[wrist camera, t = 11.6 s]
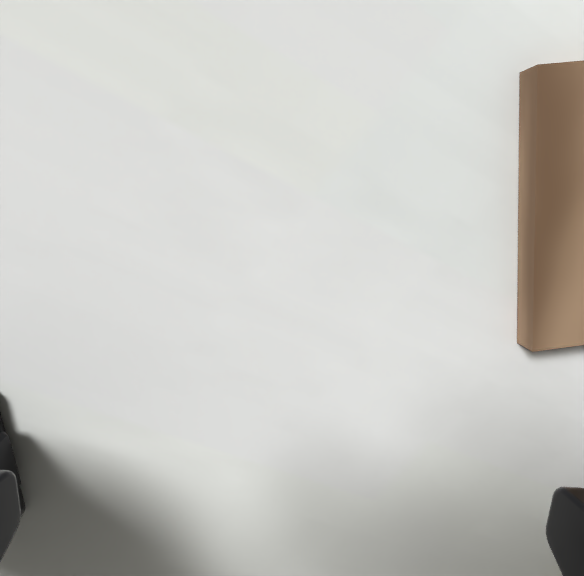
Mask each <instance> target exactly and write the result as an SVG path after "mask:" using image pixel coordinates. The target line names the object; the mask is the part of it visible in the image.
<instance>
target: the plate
mask: <svg viewBox="0 0 584 576" xmlns="http://www.w3.org/2000/svg"><path fill="white" fill-rule="evenodd" d="M517 343H518V344H520V345H522V346H523V347H525V348H527V349H529V350H530V351H532V352H534V351H542V350H550V349H557V348H565V347H572V346H580V345H584V61H574V62H563V63H551V64H540V65H536V66H534V67H531V68H529V69H527V70H525V71H522V72H520V101H519V203H518V306H517Z"/></svg>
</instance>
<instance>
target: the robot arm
mask: <svg viewBox="0 0 584 576" xmlns="http://www.w3.org/2000/svg"><path fill="white" fill-rule="evenodd" d="M20 484H21V481H20V477H19V473H18V469H17V466H16V462H15V458H14V454H13V450H12V447H11V443H10V439H9V436H8V435H7V433H6V432H5V429H4V425H3V421H2V418H1V414H0V562H1V560H2V558H3V556H4V554H5V552H6V550H7V548H8V546H9V544H10V542H11V540H12V538H13V536H14V534H15V532H16V530H17V528H18V525H19V522H20V517H21V516H22V515H23V513H24V511H25V505H24V501H23V497H22V493H21V489H20ZM546 535H547V540H548V543H549V546H550V548H551V550H552V553H553V555H554V557H555V559H556V562H557V564H558V566H559V568H560V571H561V573H562V575H563V576H584V488H576V487H560V488H557V489H556V490H555V492H554V494H553V498H552V502H551V507H550V511H549V516H548V521H547V525H546Z"/></svg>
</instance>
